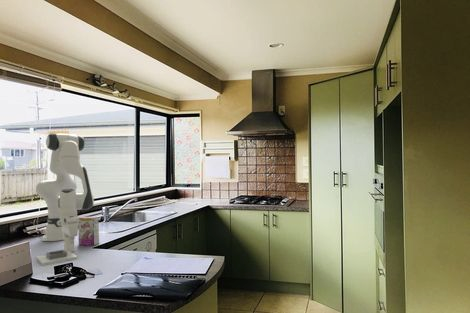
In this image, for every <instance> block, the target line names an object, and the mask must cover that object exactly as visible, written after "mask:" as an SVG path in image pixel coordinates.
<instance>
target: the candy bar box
mask: <svg viewBox="0 0 470 313" xmlns="http://www.w3.org/2000/svg"><path fill="white" fill-rule="evenodd" d="M78 218H79V222H78V234H77V235H78V245H79V246H96V245H98V244H99V245H100V234H99V233H100V229H99V228H100V227H99V216H81V217H78Z"/></svg>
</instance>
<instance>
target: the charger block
mask: <svg viewBox="0 0 470 313" xmlns="http://www.w3.org/2000/svg"><path fill="white" fill-rule="evenodd" d="M63 238H64V240H63V250H64V251H70V252H75V243H74V244H70V236H65V237H63Z"/></svg>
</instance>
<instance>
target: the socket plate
mask: <svg viewBox="0 0 470 313" xmlns="http://www.w3.org/2000/svg"><path fill="white" fill-rule="evenodd" d="M35 258H36V260H37V261H38V263H39V264H40V265H41V266H47V265H51V264H56V263H57V264H58V263H63V262H67V261H73V260H78V256H77V255H76V254H75V253H73V251H71V252H70V251H64V249H60V250H55V251H48V252H46V254H43V255H37V256H35Z"/></svg>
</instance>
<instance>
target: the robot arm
mask: <svg viewBox="0 0 470 313" xmlns="http://www.w3.org/2000/svg"><path fill="white" fill-rule="evenodd" d="M45 144H46V147H47V149H48V150H50V151H51V155H50V165H49V171H50V172H51V173H52V174H54V175H56V178H55V179H46V180H45V179H44V180H41V181H39V182H38V183H37V184H36V185H35V192H36V194H37V196H38V197H39V198H42V199H43V200H44V201H45V204H46V207H47V215H48V216H47V217H48V218H47V225H46V227H45V228H44V229H43V231H42V232H43V234H44V235H42V240H41V242H56V241H64V238H63V237H65V236H70V244H74V245H75V237H77V236H78V235H79V234H78V222H79V217H78V211H80V210H81V211H82V210H84V211H85V210H86V211H88V210H90V209H91V208H93V207H94V204H95V199H94V195H93V193H92V189H91V184H90V180H89V175H88V172H87V168H86V167H85V166H83V165H82V163H81V159H80V158H81V157H80V152H82V151H83V150H84V148H85V144H86V143H85V139H84V137H83V136H81V135H80V134H71V133H55V132H54V133H53V132H52V133H49V134H48V135H47V137H46V139H45ZM71 175H72V176H74V177H75V176H76V177H77V178H79V179H80V180H81V184H82V188H83V192H78V193H76V192H77V191H76V190H77V187H78V186H77V183H76V181H75V179H73V178H72V177H71Z"/></svg>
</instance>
